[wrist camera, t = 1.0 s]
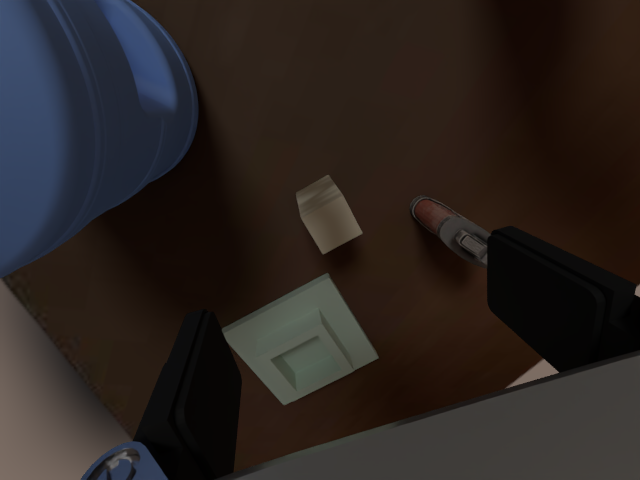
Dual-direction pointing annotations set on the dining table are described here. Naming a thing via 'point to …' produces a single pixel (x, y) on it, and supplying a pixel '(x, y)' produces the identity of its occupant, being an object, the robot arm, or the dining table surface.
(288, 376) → the slot holder
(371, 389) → the dining table surface
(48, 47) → the water jug
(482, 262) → the lighter
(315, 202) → the birch peg
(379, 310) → the dining table surface
